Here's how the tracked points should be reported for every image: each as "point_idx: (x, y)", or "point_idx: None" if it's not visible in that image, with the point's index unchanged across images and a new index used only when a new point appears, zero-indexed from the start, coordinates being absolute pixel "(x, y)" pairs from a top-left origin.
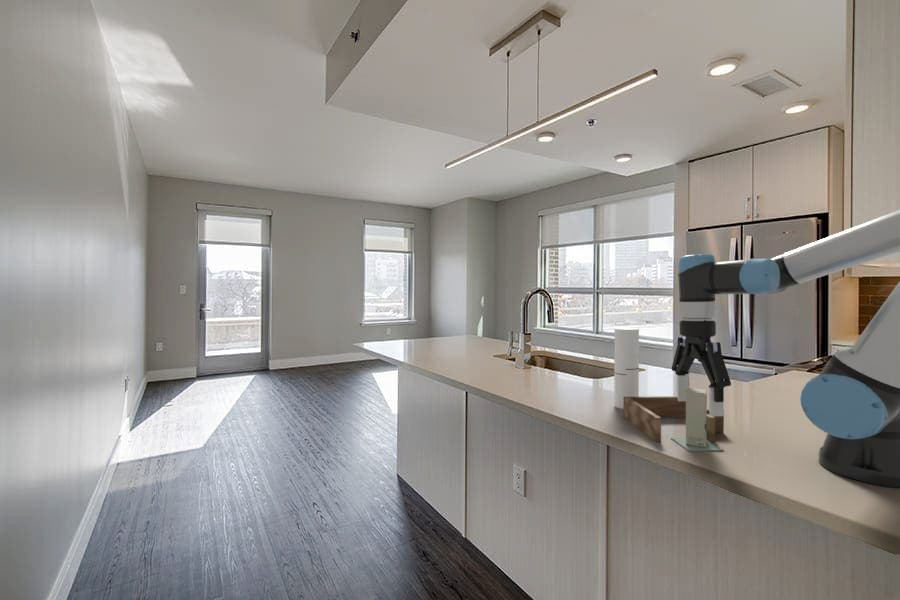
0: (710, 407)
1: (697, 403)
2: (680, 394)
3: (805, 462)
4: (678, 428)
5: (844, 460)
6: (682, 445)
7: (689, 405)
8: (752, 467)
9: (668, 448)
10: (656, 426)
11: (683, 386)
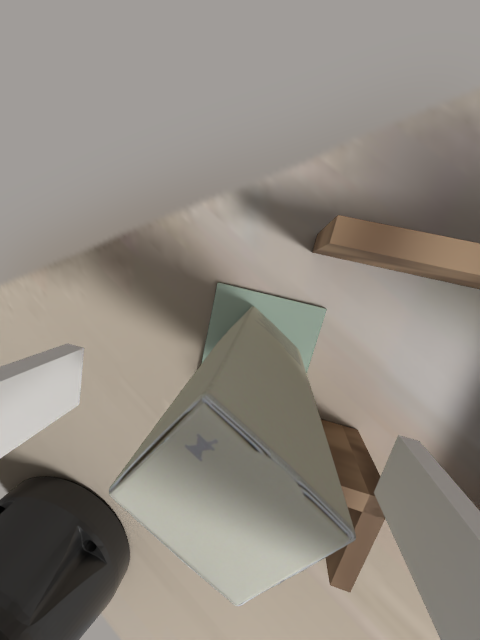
0: (29, 361)
1: (180, 399)
2: (423, 482)
3: (112, 483)
4: (408, 412)
5: (17, 507)
6: (253, 291)
7: (214, 360)
8: (101, 355)
9: (254, 235)
10: (327, 225)
11: (463, 585)
